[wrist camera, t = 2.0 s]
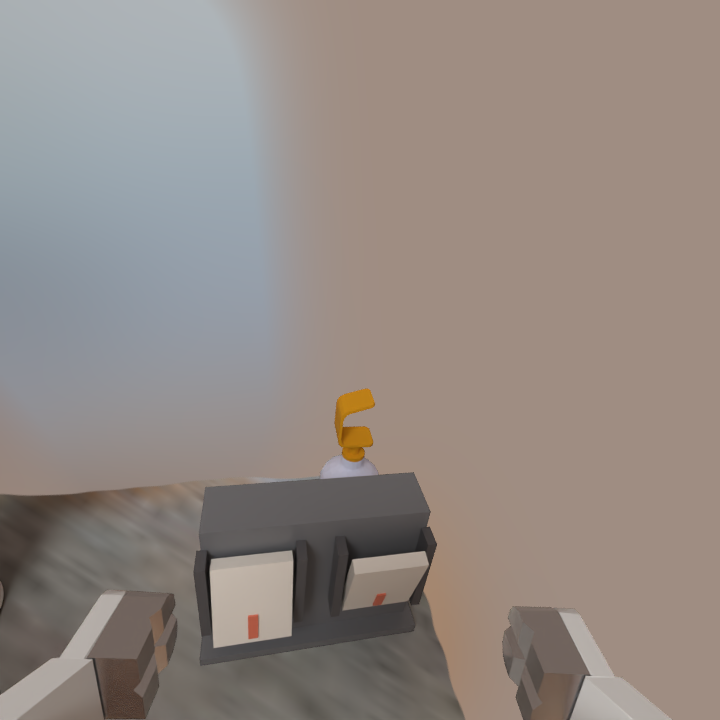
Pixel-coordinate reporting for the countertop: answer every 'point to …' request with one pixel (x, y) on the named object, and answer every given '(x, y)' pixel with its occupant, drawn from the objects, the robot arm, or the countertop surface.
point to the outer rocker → (383, 579)
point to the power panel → (314, 552)
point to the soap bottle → (351, 439)
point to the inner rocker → (251, 597)
